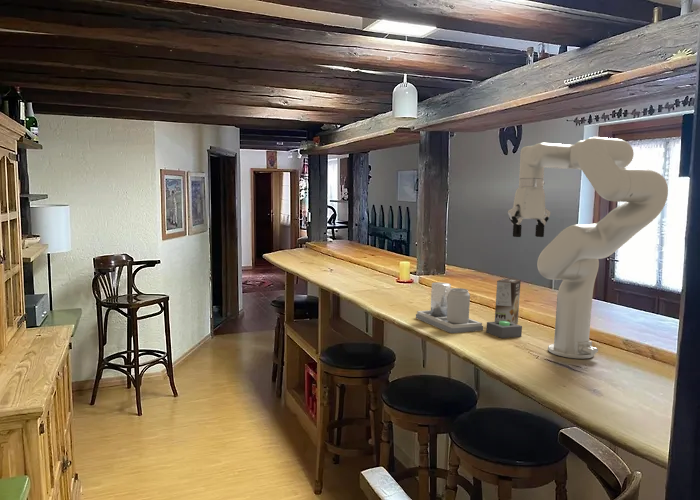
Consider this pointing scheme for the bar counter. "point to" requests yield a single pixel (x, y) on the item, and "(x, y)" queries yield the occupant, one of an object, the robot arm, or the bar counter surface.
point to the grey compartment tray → (445, 325)
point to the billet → (439, 299)
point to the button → (504, 323)
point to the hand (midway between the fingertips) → (528, 236)
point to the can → (458, 306)
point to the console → (504, 330)
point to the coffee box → (507, 300)
